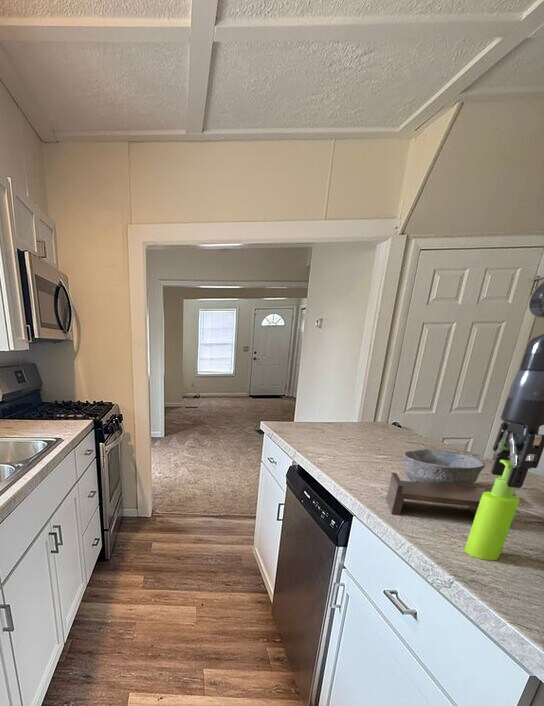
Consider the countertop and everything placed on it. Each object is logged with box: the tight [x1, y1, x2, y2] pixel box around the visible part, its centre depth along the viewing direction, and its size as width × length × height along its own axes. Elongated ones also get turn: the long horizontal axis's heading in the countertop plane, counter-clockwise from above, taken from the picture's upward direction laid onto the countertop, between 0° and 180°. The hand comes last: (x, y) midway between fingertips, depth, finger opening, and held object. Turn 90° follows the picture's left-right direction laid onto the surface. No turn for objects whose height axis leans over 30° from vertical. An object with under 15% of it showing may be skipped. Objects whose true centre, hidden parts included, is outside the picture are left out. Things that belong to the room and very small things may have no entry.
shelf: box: [385, 472, 488, 517], centre depth 105 cm, size 22×12×8 cm, turn 69°
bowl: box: [403, 449, 487, 487], centre depth 122 cm, size 21×21×10 cm
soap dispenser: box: [464, 459, 521, 561], centre depth 82 cm, size 6×7×20 cm
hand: (505, 480), depth 80 cm, fingers open, 8 cm apart
